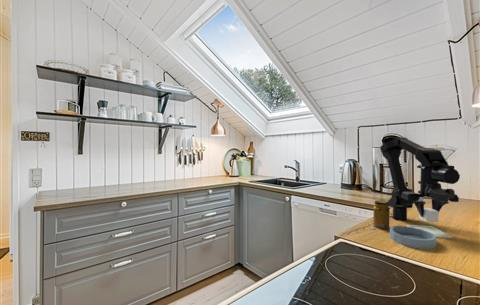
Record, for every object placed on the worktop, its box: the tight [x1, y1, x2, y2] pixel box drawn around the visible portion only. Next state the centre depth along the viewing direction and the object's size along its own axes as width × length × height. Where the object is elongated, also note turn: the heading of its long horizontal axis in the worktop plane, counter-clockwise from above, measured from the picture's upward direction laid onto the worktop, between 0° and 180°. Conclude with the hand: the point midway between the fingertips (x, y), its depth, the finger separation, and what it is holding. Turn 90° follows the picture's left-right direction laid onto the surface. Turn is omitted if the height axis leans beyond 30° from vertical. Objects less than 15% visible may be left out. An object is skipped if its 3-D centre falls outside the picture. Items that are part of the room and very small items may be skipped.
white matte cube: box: [418, 207, 440, 223], centre depth 95 cm, size 4×4×4 cm
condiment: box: [370, 200, 390, 230], centre depth 100 cm, size 7×8×12 cm
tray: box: [405, 224, 453, 239], centre depth 95 cm, size 12×10×1 cm
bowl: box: [389, 225, 437, 250], centre depth 86 cm, size 14×14×4 cm
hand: (428, 216), depth 95 cm, fingers closed on white matte cube, 4 cm apart
